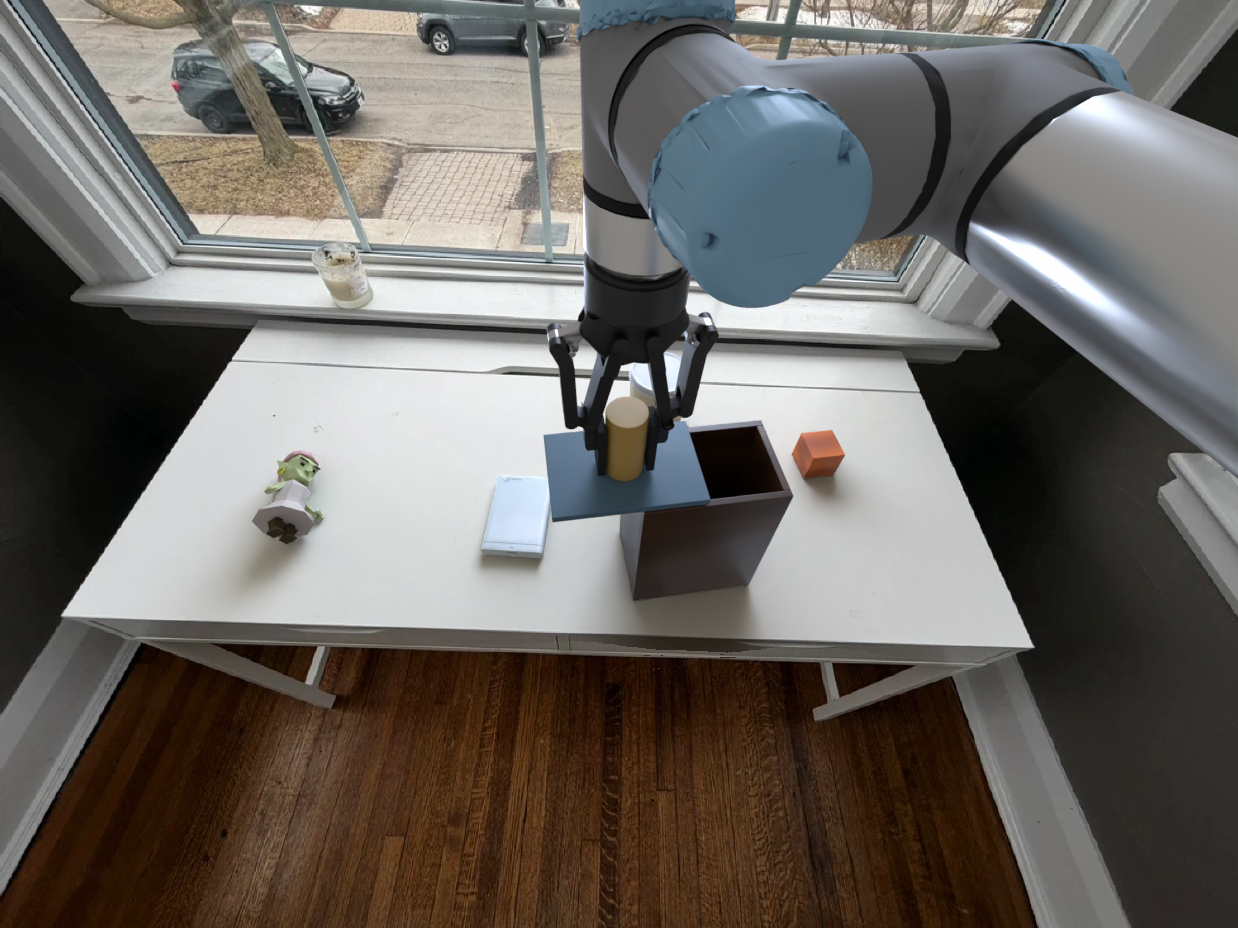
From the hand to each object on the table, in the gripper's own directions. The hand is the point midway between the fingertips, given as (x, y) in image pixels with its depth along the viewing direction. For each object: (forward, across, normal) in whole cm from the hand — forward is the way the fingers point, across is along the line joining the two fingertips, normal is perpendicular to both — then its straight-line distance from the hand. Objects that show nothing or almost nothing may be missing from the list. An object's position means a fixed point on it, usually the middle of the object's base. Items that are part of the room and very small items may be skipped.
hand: (623, 462), depth 56 cm
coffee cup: (+23, -10, -24) cm, 34 cm away
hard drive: (+23, +12, -9) cm, 28 cm away
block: (+23, -33, -13) cm, 42 cm away
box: (+22, -9, 0) cm, 24 cm away
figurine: (+18, +40, -16) cm, 46 cm away
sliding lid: (+1, 0, 0) cm, 1 cm away
